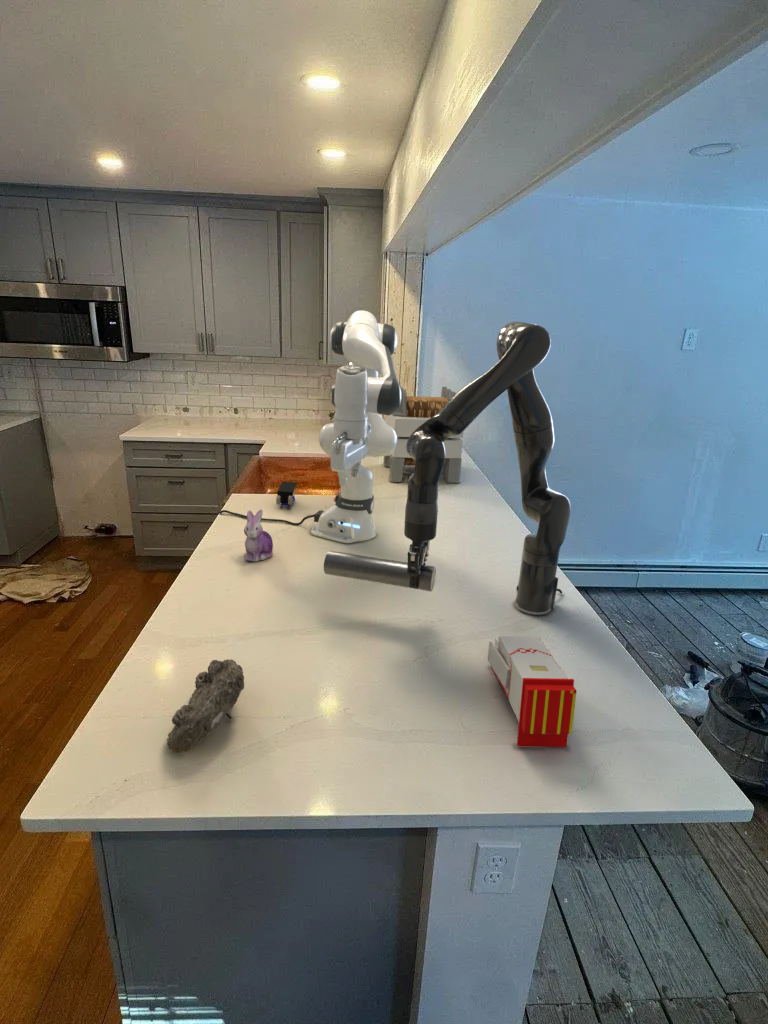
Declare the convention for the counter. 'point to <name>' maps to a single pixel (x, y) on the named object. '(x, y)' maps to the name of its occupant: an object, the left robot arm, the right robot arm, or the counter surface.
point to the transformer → (408, 421)
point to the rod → (376, 570)
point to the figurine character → (286, 494)
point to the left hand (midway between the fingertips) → (349, 480)
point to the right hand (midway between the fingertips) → (417, 581)
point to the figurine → (257, 538)
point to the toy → (534, 690)
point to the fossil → (206, 705)
